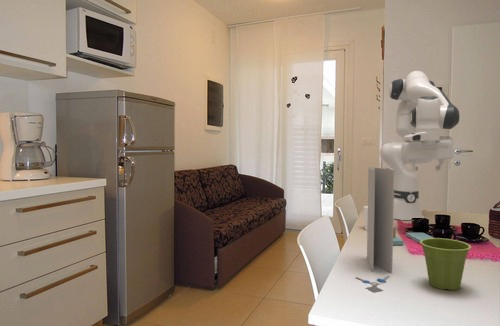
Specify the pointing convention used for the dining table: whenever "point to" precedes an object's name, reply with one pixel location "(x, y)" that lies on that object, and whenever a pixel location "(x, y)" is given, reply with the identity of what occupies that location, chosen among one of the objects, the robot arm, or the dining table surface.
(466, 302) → the dining table surface
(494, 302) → the dining table surface
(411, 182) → the robot arm
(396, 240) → the stub
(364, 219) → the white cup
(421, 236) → the teal flat block
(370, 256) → the brochure
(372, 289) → the blue grey flat piece
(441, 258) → the plant pot
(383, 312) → the dining table surface
